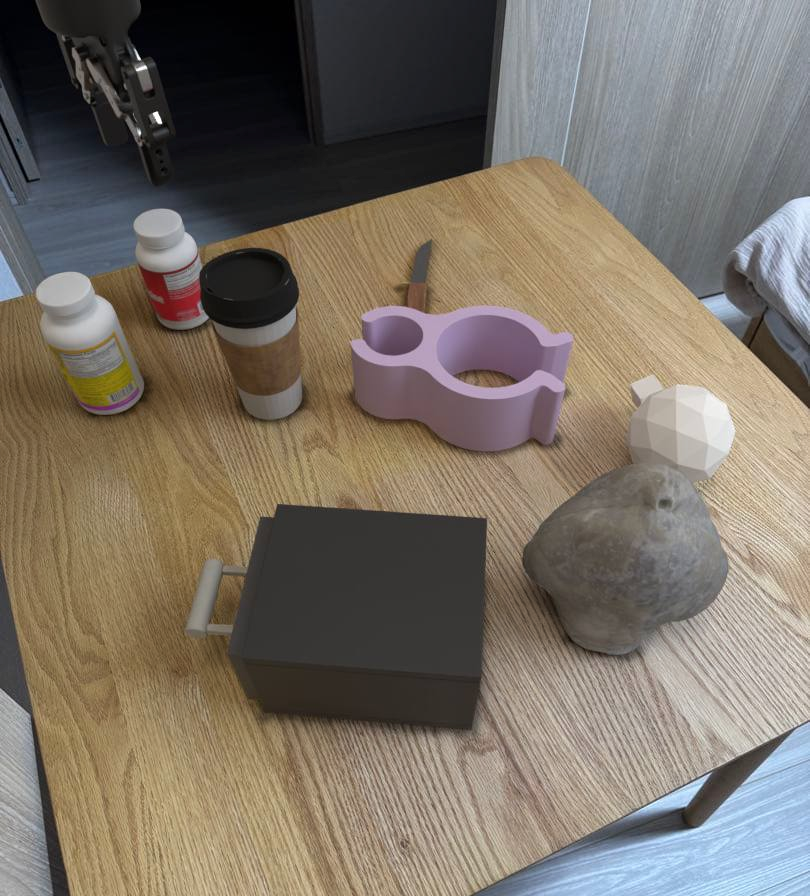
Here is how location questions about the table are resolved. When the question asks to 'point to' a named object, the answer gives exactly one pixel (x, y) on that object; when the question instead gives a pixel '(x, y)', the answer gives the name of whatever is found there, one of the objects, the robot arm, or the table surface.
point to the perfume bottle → (679, 428)
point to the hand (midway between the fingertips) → (139, 162)
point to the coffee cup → (256, 327)
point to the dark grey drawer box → (370, 616)
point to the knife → (419, 279)
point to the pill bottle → (170, 268)
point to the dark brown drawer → (207, 598)
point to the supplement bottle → (88, 344)
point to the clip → (454, 351)
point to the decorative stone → (628, 557)
